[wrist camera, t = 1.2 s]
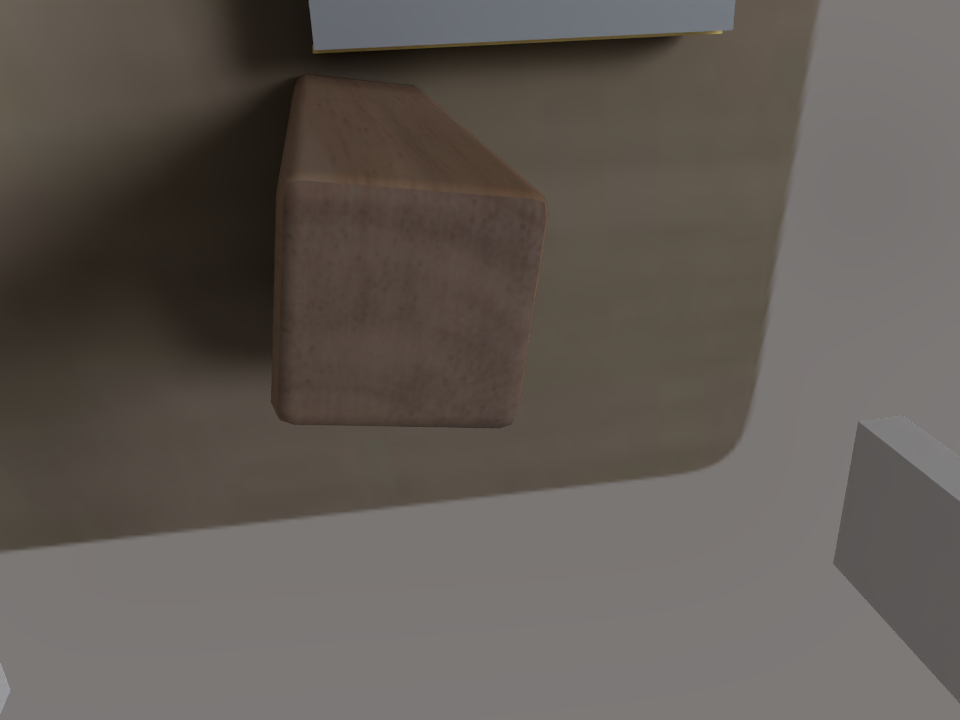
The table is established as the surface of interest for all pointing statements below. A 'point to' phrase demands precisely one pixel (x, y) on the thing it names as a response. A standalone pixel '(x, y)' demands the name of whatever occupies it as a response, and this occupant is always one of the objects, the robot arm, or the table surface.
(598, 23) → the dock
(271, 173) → the table surface
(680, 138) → the table surface
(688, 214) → the table surface
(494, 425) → the wooden block
